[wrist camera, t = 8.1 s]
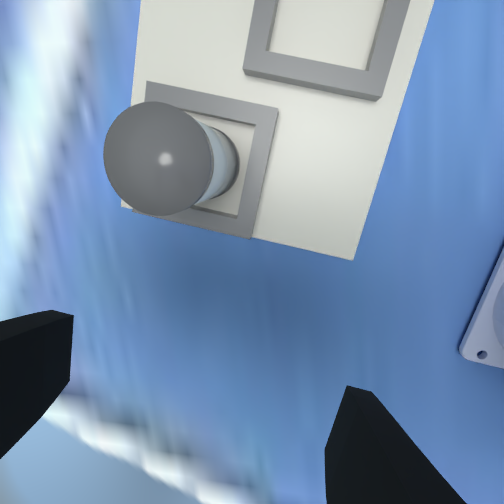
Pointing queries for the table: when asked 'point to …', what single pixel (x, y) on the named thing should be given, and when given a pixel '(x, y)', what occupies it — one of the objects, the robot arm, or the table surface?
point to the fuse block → (286, 105)
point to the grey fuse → (167, 159)
